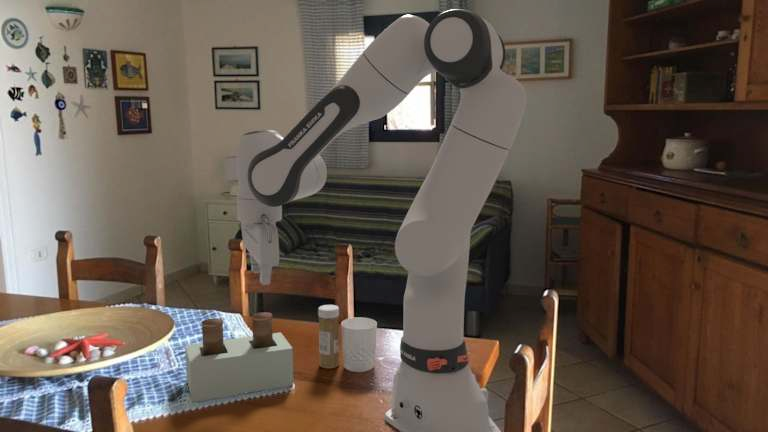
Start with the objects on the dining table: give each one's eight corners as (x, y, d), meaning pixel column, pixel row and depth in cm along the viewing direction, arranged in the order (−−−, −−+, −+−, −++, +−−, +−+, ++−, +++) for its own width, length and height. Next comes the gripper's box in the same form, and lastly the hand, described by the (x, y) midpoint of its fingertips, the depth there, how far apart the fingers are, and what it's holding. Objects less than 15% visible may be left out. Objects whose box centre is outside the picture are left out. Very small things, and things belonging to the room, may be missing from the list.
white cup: (343, 374, 130) (343, 330, 128) (339, 360, 138) (338, 318, 136) (379, 372, 132) (380, 327, 130) (373, 358, 139) (373, 316, 138)
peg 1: (225, 357, 121) (224, 323, 120) (204, 360, 120) (202, 326, 119) (222, 349, 125) (221, 317, 124) (201, 352, 123) (200, 319, 122)
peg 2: (275, 349, 125) (274, 317, 124) (255, 352, 124) (254, 319, 123) (270, 343, 129) (269, 311, 128) (251, 345, 127) (250, 313, 126)
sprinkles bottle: (343, 366, 134) (342, 308, 132) (324, 371, 132) (324, 311, 130) (333, 359, 138) (332, 302, 136) (315, 363, 136) (314, 306, 134)
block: (293, 385, 125) (292, 348, 124) (192, 402, 117) (190, 363, 116) (281, 367, 134) (280, 332, 133) (186, 381, 126) (185, 345, 125)
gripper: (287, 218, 114) (287, 290, 116) (265, 203, 132) (266, 265, 135) (253, 220, 111) (254, 293, 113) (235, 204, 130) (237, 267, 132)
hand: (260, 278), depth 124 cm, fingers open, 8 cm apart
